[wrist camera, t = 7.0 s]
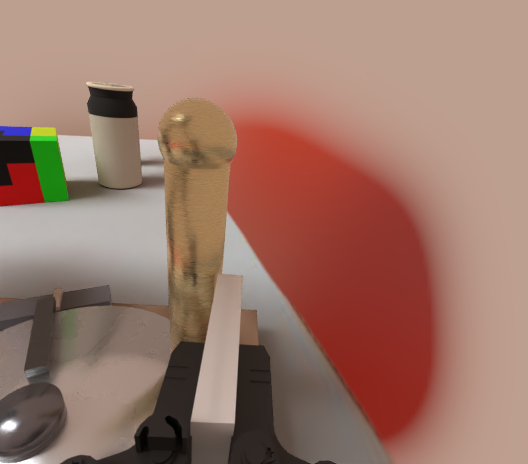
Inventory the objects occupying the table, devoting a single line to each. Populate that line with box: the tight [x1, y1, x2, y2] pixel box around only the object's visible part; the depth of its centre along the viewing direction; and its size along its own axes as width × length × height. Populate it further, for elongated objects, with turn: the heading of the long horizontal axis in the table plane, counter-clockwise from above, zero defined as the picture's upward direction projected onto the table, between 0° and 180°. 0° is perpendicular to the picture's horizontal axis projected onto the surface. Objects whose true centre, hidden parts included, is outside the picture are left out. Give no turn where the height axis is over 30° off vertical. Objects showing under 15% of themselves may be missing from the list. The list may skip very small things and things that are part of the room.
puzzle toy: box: [0, 126, 69, 206], centre depth 47 cm, size 10×10×10 cm
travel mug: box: [86, 82, 142, 189], centre depth 54 cm, size 8×8×18 cm
